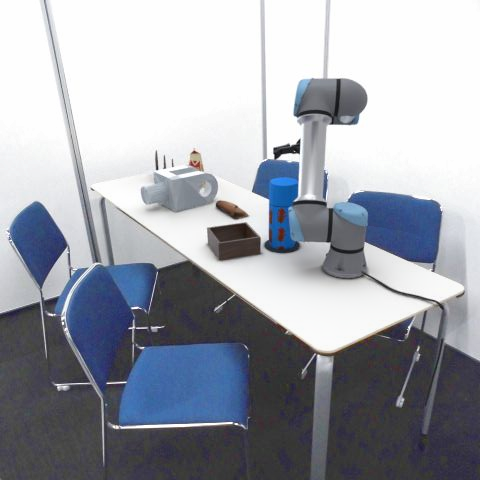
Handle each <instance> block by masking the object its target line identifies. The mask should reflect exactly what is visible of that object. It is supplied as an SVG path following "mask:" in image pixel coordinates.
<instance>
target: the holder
mask: <svg viewBox="0 0 480 480" xmlns="http://www.w3.org/2000/svg"><path fill="white" fill-rule="evenodd" d="M206 233H207V235H206V236H207V245H208V246H209V248H210V249H211V250H212V253H214V255H215V257H216V258H217V259H218V261H225V260H232V259H239V258H244V257H245V258H246V257H251V256H256V255H257V256H258V255H261V254H262V252H261V250H262V245H261V244H262V242H261V241H262V237H261V236H260V235H259V234H258V233H257V231H256V230H255V229H253V227H252V226H251V225H250V224H249V222H247V221H245V222H238V223H237V222H236V223H230V224H223V225H216V226H209V227H208V226H207V227H206Z"/></svg>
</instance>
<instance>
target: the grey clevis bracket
mask: <svg viewBox="0 0 480 480" xmlns="http://www.w3.org/2000/svg"><path fill="white" fill-rule="evenodd" d="M153 180H154V183H153V184H149V185H144V186H141V187H140V196H141V200H142V202H143V203H144V204H145V205H146V206H149V205H154V204H157V203H158V204H160V205H161V206H164V207H165V208H168V209H170V210H171V211H173V212H175V213H177V212H181V211H185V210H190V209H193V208H196V207H202V206H205V205H209V204H210V203H212V202H213V201H214V200H215V198H216V196H217V195H218V191H219V183H218V180H217V178H216V177H215V175H213V174H212V173H210V172H208V171H205V170H204V171H199V170H198V169H197V168H195V167H192V166H189V164H182V165H177V166H174V167H172V166H171V167H168V168H167V167H166V169H159V170H157V171H156V170H153ZM204 181H205V184H206V185H205V187H204V188H205V189H204V190H203V191H202V188H203V187H202V186H203V182H204ZM201 191H202V192H201ZM200 192H201V193H200Z"/></svg>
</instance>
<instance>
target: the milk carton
mask: <svg viewBox="0 0 480 480" xmlns="http://www.w3.org/2000/svg"><path fill="white" fill-rule="evenodd" d="M188 157H189V158H188V165H189V166H192V167H195V168H197V169H198V170H199V171H205V168H204V163H203V159H202V154H201V153H200V152H199V151H197V149H196V148H195V147H193V150H192V151H191V152H190V153H189V156H188ZM202 188H206V184H205V181H204V182H203V186H202Z"/></svg>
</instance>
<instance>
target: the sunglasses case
mask: <svg viewBox="0 0 480 480" xmlns="http://www.w3.org/2000/svg"><path fill="white" fill-rule="evenodd" d="M215 208H217V209H220V210H222V211H223V212H225V213H226V214H228V215H230V216H231V217H233V219H235V220H237V219H242V218H243V219H244V218H246V217H248V216H249V213H247V211H245V210H244V209H242V208H241V207H239V205H237V204H235V203H233V202H230V201H227V200H217V201H216V202H215Z"/></svg>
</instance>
